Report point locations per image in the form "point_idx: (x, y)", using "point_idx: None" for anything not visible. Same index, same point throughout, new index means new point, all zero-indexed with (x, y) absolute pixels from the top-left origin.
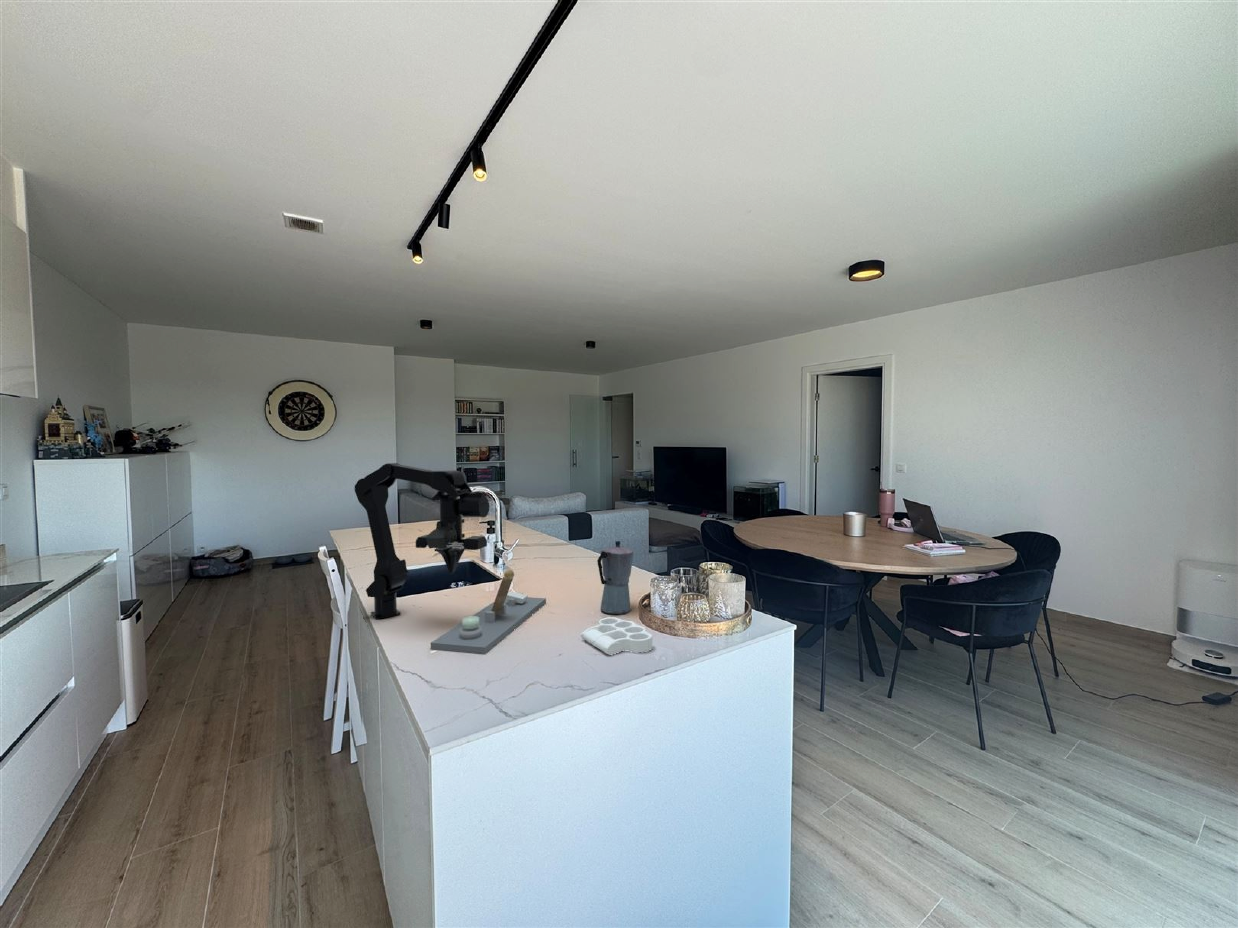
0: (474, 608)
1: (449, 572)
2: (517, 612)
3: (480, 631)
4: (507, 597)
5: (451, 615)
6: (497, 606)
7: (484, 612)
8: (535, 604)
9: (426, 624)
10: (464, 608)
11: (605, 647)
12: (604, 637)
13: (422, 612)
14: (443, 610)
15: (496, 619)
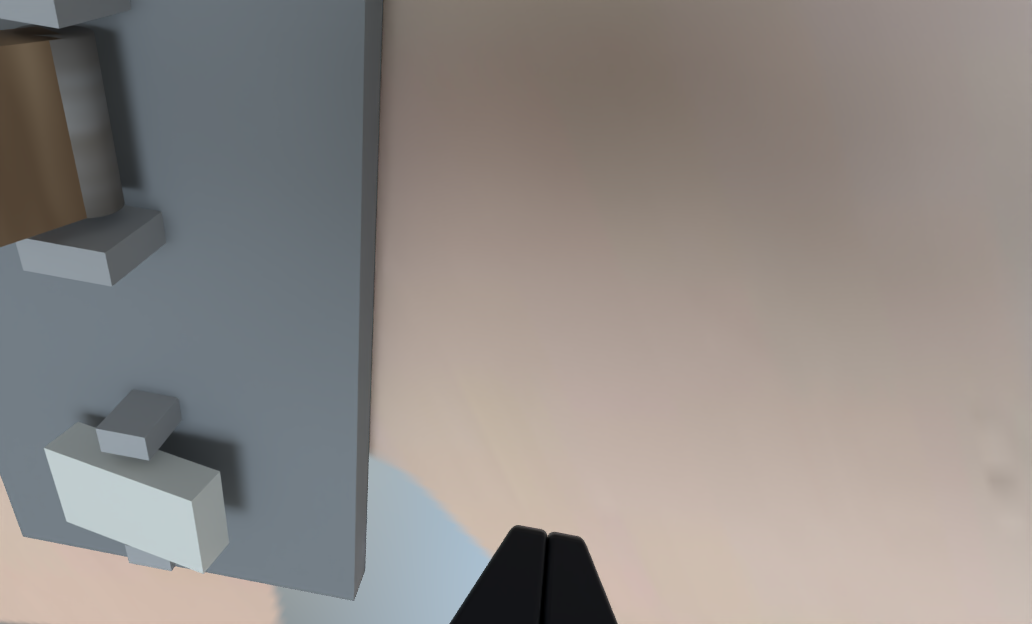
0: (508, 439)
1: (583, 548)
2: (8, 254)
3: None
4: (182, 477)
5: (645, 290)
6: None
7: (294, 252)
8: (5, 428)
9: (829, 32)
10: (592, 442)
11: None
12: None
13: (957, 365)
14: (763, 406)
15: None
